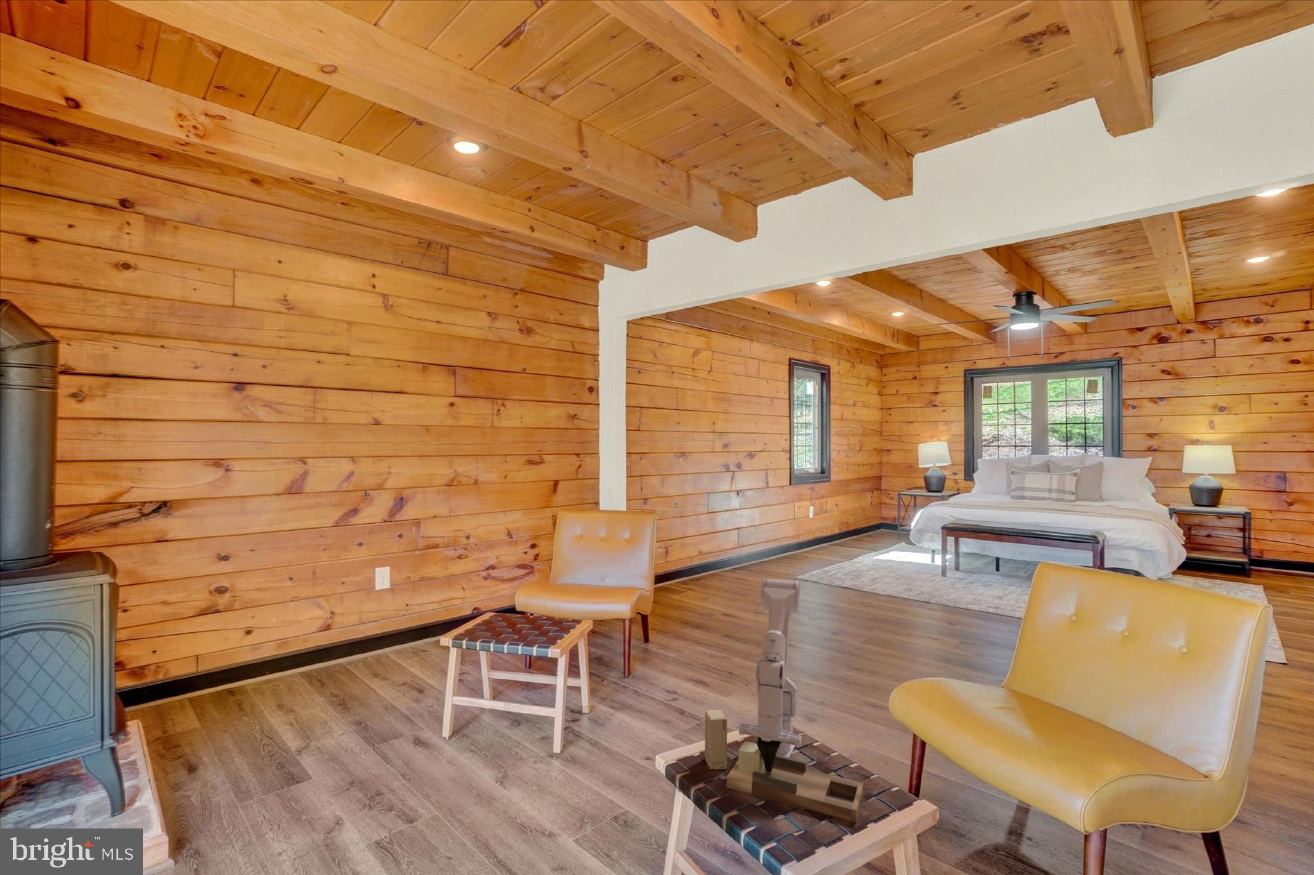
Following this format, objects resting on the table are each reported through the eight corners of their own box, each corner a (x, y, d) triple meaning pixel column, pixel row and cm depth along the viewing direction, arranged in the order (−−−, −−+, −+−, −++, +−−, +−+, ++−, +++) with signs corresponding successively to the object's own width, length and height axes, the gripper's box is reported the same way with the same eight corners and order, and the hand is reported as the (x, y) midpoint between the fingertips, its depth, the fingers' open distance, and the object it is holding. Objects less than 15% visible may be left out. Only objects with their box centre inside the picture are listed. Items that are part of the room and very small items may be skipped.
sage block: (744, 761, 149) (744, 741, 149) (764, 766, 147) (764, 745, 147) (738, 771, 144) (738, 750, 145) (759, 776, 142) (759, 754, 142)
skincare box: (727, 769, 150) (728, 719, 150) (710, 770, 149) (711, 720, 149) (720, 756, 156) (721, 708, 156) (704, 757, 156) (704, 709, 156)
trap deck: (742, 763, 153) (742, 745, 153) (863, 793, 140) (863, 774, 141) (726, 787, 142) (726, 767, 142) (856, 822, 130) (856, 801, 130)
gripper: (735, 712, 144) (734, 770, 143) (797, 725, 137) (796, 786, 137) (744, 701, 150) (743, 757, 150) (803, 713, 144) (802, 771, 144)
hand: (769, 770), depth 144 cm, fingers closed
